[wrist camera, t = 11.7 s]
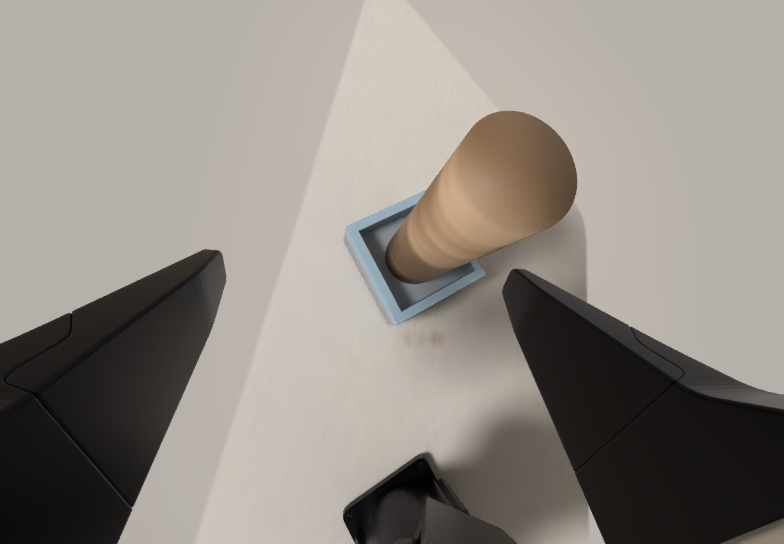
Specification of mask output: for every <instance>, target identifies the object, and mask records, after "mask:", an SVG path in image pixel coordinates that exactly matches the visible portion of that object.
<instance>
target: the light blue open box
mask: <svg viewBox="0 0 784 544" xmlns="http://www.w3.org/2000/svg"><path fill="white" fill-rule="evenodd" d="M425 192H426V190H425V191H423V192H421V193H419V194H417V195H414V196H412V197H410V198H408V199H406V200H403V201H401V202H399V203H397V204H395V205H392V206H390V207H388V208H386V209H384V210H381V211H379V212H377V213H375V214H373V215H370V216H368V217H366V218H364V219H362V220H359V221H357V222H355V223H353V224H351V225H348V226H346V229H345V235H344V242H345V244H346V246H347V248H348V250H349V252H350V254H351V256H352V257H353V259H354V261H355V263H356V265H357V267H358V269H359V271H360V273H361V275H362V276H363V278H364V280H365V282H366V284H367V286H368V288H369V290H370V292H371V293H372V295H373V297H374V299H375V301H376V303H377V305H378V307H379V309H380V310H381V312H382V314H383V316H384V318H385V320H386V322H387V324H388V325H399V324H400V323H402V322H404V321H406V320H407V319H409V318H411V317H413V316H414V315H416V314H418V313H420V312H421V311H423V310H425V309H427V308H428V307H430V306H432V305H434V304H435V303H437V302H439V301H441V300H442V299H444V298H446V297H448V296H449V295H451V294H453V293H455V292H456V291H458V290H460V289H462V288H463V287H465V286H467V285H469V284H470V283H472V282H474V281H476V280H477V279H479V278H481V277H483V276H484V275H486V273H485V272H484V270H483V268H482V266H481V264H480V263H479V261H478V259H476V260H473V261H471V262H469V263H466V264H464V265H462V266H460V267H457V268H455V269H453V270H450V271H448V272H446V273H444V274H441V275H439V276H437V277H435V278H432V279H430V280H428V281H425V282H423V283H420V284H407V283H404V282H402V281H400V280H398V279H397V278H395V277H394V276H393V275H392V273H391V272H390V271H389V269H388V267H387V264H386V259H385V252H386V248H387V245H388V243H389V241H390V240H391V239H392V237H393V236H394V234H395V233H396V232H397V230H398V229H399V228H400V226H401V225H402V223H403V222H404V221H405V219H406V218H407V216H408V215H409V214H410V212H411V211H412V210H413V208H414V207H415V205H416V204H417V203H418V201H419V200H420V199H421V197H422V196H423V194H424V193H425Z"/></svg>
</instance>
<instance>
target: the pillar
mask: <svg viewBox="0 0 784 544" xmlns="http://www.w3.org/2000/svg"><path fill="white" fill-rule="evenodd" d="M576 190H577V173H576V168H575V164H574V161H573V158H572V155H571V153H570V151H569V149H568V147H567V146H566V144H565V143H564V141H563V140H562V139H561V137H560V136H559V135H558V134H557V133H556V132H555V131H554V130H553V129H552V128H551V127H550V126H549V125H547V124H546V123H544V122H543V121H541V120H540V119H538V118H536V117H534V116H531V115H529V114H526V113H522V112H517V111H500V112H496V113H492V114H490V115H487V116H486V117H484V118H482V119H481V120H479V121H478V122H477V123H476V124H475V125H474V126H473V127H472V128H471V130H470V131H469V132H468V134H467V135H466V136H465V138H464V139H463V141H462V142H461V143H460V145H459V146H458V147H457V149H456V150H455V152H454V153H453V154H452V156H451V157H450V159H449V160H448V161H447V163H446V164H445V165H444V167H443V168H442V170H441V171H440V172H439V174H438V175H437V176H436V178H435V179H434V181H433V182H432V183H431V185H430V186H429V188H428V189H427V190H426V192H425V193H424V194H423V196H422V197H421V199H420V200H419V201H418V203H417V204H416V205H415V207H414V208H413V210H412V211H411V212H410V214H409V215H408V216H407V218H406V219H405V221H404V222H403V223H402V225H401V226H400V228H399V229H398V230H397V232H396V233H395V234H394V236H393V237H392V239H391V240H390V241H389V243H388V245H387V248H386V252H385V259H386V264H387V267H388V269H389V271H390V272H391V273H392V275H393V276H394V277H395V278H397V279H398V280H400V281H402V282H404V283H407V284H420V283H423V282H425V281H428V280H430V279H432V278H435V277H437V276H439V275H441V274H444V273H446V272H448V271H450V270H453V269H455V268H457V267H460V266H462V265H464V264H466V263H469V262H471V261H473V260H476V259H478V258H480V257H482V256H485V255H487V254H489V253H492V252H494V251H496V250H498V249H501V248H503V247H505V246H507V245H510V244H512V243H514V242H517V241H519V240H521V239H523V238H526V237H528V236H530V235H533V234H535V233H537V232H539V231H542V230H544V229H546V228H549V227H551V226H552V225H554V224H556V223H557V222H559V221H560V220H561V219H562V218H563V217H564V216H565V215H566V214H567V213H568V211H569V210H570V208H571V206H572V204H573V202H574V199H575V195H576Z"/></svg>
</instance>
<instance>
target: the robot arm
mask: <svg viewBox="0 0 784 544" xmlns="http://www.w3.org/2000/svg"><path fill="white" fill-rule="evenodd" d="M225 283H226V272H225V267H224V261H223V256H222V253H221V252H220V251H219V250H207V249H205V250H202V251H200V252H198V253H196V254H193V255H191V256H189V257H187V258H185V259H183V260H181V261H178V262H176V263H174V264H172V265H170V266H168V267H166V268H163V269H161V270H160V271H157V272H155V273H153V274H151V275H148V276H146V277H144V278H142V279H140V280H138V281H136V282H134V283H131V284H130V285H127V286H125V287H123V288H121V289H119V290H117V291H114V292H112V293H110V294H108V295H106V296H104V297H102V298H99V299H97V300H95V301H93V302H91V303H89V304H87V305H85V306H83V307H80V308H78V309H76V310H74V311H72V314H71V313H68V314H65V315H63V316H61V317H59V318H57V319H55V320H53V321H51V322H48V323H46V324H44V325H42V326H39V327H37V328H35V329H33V330H31V331H28V332H26V333H24V334H22V335H20V336H17V337H15V338H13V339H10V340H8V341H6V342H3V343H1V344H0V544H117V543H118V541H119V539H120V536H121V534H122V531H123V530H124V527H125V525H126V523H127V521H128V518H129V516H130V514H131V511H132V508H131V507H133V506H134V504H135V502H136V500H137V497H138V495H139V493H140V491H141V488H142V486H143V484H144V481H145V479H146V477H147V475H148V472H149V470H150V468H151V466H152V463H153V461H154V459H155V457H156V454H157V452H158V450H159V448H160V445H161V443H162V441H163V438H164V436H165V434H166V432H167V429H168V427H169V425H170V423H171V420H172V418H173V416H174V413H175V411H176V409H177V407H178V404H179V402H180V400H181V398H182V395H183V393H184V391H185V389H186V386H187V384H188V382H189V379H190V377H191V375H192V373H193V371H194V368H195V366H196V364H197V361H198V359H199V357H200V355H201V352H202V350H203V348H204V346H205V343H206V341H207V339H208V337H209V334H210V332H211V329H212V326H213V324H214V321H215V317H216V314H217V310H218V307H219V304H220V300H221V297H222V293H223V289H224V286H225ZM502 294H503V298H504V301H505V304H506V307H507V311H508V314H509V317H510V320H511V324H512V327H513V330H514V333H515V335H516V338H517V340H518V342H519V345H520V347H521V349H522V352H523V354H524V356H525V359H526V361H527V363H528V365H529V368H530V370H531V372H532V375H533V377H534V379H535V382H536V384H537V386H538V389H539V391H540V393H541V395H542V398H543V400H544V402H545V405H546V407H547V409H548V412H549V414H550V416H551V419H552V421H553V423H554V426H555V428H556V430H557V432H558V435H559V437H560V439H561V442H562V444H563V446H564V449H565V451H566V453H567V456H568V458H569V460H570V463H571V465H572V467H573V469H574V471H575V475H576V477H577V479H578V481H579V484H580V486H581V488H582V491H583V493H584V495H585V498H586V500H587V502H588V505H589V507H590V509H591V512H592V514H593V516H594V518H595V521H596V523H597V525H598V528H599V530H600V532H601V535H602V537H603V539H604V542H605V544H784V395H781V394H776V393H771V392H767V391H764V390H760V389H757V388H754V387H752V386H749V385H746V384H744V383H742V382H740V381H737V380H735V379H733V378H731V377H729V376H727V375H725V374H723V373H721V372H719V371H717V370H715V369H713V368H711V367H709V366H707V365H705V364H703V363H701V362H699V361H697V360H695V359H692V358H691V357H688V356H686V355H684V354H683V353H680V352H679V351H677V350H675V349H673V348H671V347H669V346H667V345H665V344H663V343H661V342H659V341H657V340H655V339H653V338H651V337H650V336H648V335H646V334H644V333H642V332H640V331H638V330H636V329H635V328H633V327H629V325H627V324H625V323H623V322H621V321H620V320H618V319H616V318H614V317H612V316H610V315H608V314H607V313H605V312H603V311H601V310H599V309H597V308H595V307H594V306H592V305H590V304H588V303H586V302H585V301H583V300H581V299H579V298H577V297H575V296H573V295H572V294H570V293H568V292H566V291H564V290H562V289H560V288H559V287H557V286H555V285H553V284H551V283H549V282H548V281H546V280H544V279H542V278H540V277H538V276H536V275H535V274H533V273H531V272H529V271H527V270H525V269H513V270H511V272H510V273H509V276H508V278H507V280H506V282H505V284H504V287H503V290H502ZM419 462H423V465H422V466H421V467H418V463H419ZM350 512H353V513H354V515H353V516H352V517H348V516H347V515H348V513H350ZM343 519H344V522H345V524H346V526H347V528H348V530H349V532H350V534H351V536H352V538H353V540H354V542H355V544H517V543H516V542H515V541H514V540H513V539H512V538H511V537H510V536H508V535H507V534H506V533H505V532H504V531H503V530H502V529H500V528H498V527H496V526H494V525H492V524H489V523H487V522H485V521H482V520H480V519H478V518H475V517H473V516H471V515H470V514H469V513H468V511H467V509H466V508H465V507H464V505H463V504H462V503H461V501H460V500H459V499H458V497H457V496H456V494H455V493H454V492H453V490H452V489H451V488H450V486H449V485H448V484H447V482H446V481H445V480H444V479H441V478H440V479H439V480H436V478H435V476H434V474H433V472H432V470H431V468H430V466H429V464H428V462H427V461H426V459H425V458H424V457H423V456H417V457H415V458H414V459H412V460H411V461H410V462H408V463H407V464H405V465H404V466H403V467H401V468H400V469H398V470H397V471H395V472H394V473H393V474H391V475H390V476H388V477H387V478H386V479H384V480H383V481H381V482H380V483H379V484H377V485H376V486H374V487H373V488H372V489H370V490H369V491H367V492H366V493H364V494H363V495H362V496H360V497H359V498H357V499H356V500H355V501H353V502H352V503H350V504H349V505H348V506H346V507H345V509H344V511H343Z"/></svg>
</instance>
